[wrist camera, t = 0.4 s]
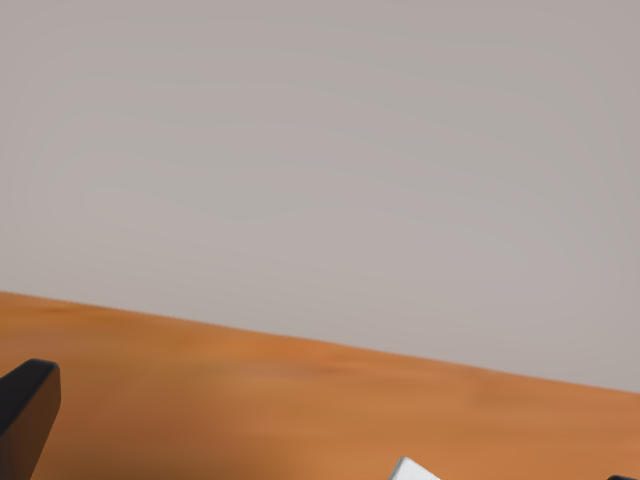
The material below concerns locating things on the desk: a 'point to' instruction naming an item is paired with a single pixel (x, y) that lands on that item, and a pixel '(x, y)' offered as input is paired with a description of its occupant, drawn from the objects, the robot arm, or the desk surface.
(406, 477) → the small box
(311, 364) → the desk surface
